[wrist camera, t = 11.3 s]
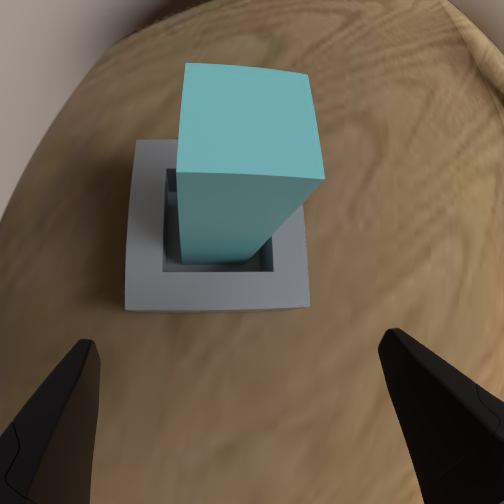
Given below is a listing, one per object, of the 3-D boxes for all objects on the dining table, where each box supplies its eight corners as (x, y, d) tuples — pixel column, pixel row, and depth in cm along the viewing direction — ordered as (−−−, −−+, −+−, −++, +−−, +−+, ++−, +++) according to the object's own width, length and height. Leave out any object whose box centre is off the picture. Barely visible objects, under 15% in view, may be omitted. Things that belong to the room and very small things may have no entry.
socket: (279, 173, 24) (296, 146, 20) (288, 310, 22) (310, 306, 18) (143, 169, 22) (136, 139, 18) (136, 312, 20) (125, 309, 16)
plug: (242, 206, 22) (307, 74, 10) (244, 264, 21) (325, 179, 9) (183, 205, 21) (185, 63, 9) (182, 264, 20) (176, 172, 8)
